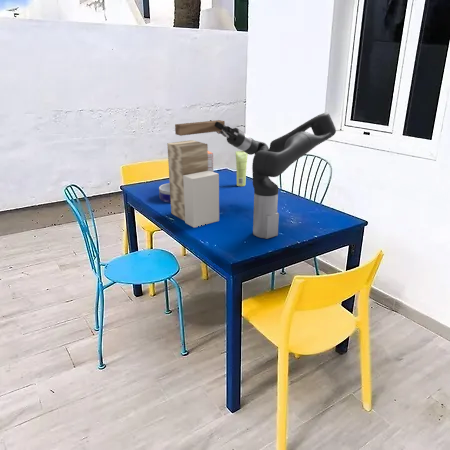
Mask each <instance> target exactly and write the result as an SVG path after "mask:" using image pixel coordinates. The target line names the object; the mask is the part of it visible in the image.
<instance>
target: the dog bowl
mask: <svg viewBox="0 0 450 450" xmlns="http://www.w3.org/2000/svg"><path fill="white" fill-rule="evenodd" d="M158 195H159V200H160V201H161V202H165V203H171V198H170V182H168V183H164V184H161V185H159V187H158Z"/></svg>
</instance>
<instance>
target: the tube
mask: <svg viewBox="0 0 450 450" xmlns="http://www.w3.org/2000/svg"><path fill="white" fill-rule="evenodd" d="M248 156H249V154H247V153H245V152H244V151H242V150H235V162H236V165H235V166H236V169H235V170H236V186H238V187H245V186H246V183H247V182H246V181H247V180H246V179H247V162H248Z"/></svg>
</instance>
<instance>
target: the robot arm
mask: <svg viewBox="0 0 450 450" xmlns="http://www.w3.org/2000/svg"><path fill="white" fill-rule="evenodd" d="M209 121H213V119H212V120H209ZM215 127H217V128H218V129H220V130H221V131H217V132H216V133H217V134H218V135H219V134H220V135H222V136H223V137H224V138H226V142H227V143H228V144H230V145H231V146H233V147H235V148H236V149H238V150H239V151H244V152H245V153H247V154H248V156H249V155H250V156H253V155H254V156H253V158H252V165H251V166H252V167H251V169H252V172H251V173H252V187H253V195H254V196H253V217H252V218H253V221H252V225H253V226H252V235H253V236H256V237H257V238H261V239H267V240H268V239H270V238H274V237H278V235H279V223H280V222H279V221H280V219H279V218H280V213H279V212H278V205H279V203H278V201H279V186H278V184H276V183H275V182H274V181H272V179H271V178H276V177H280V175H282V174H283V173H284V172H285V171H286V170H287V169H288V168H289V167H290V166H292V164H294V163H295V162H297V160H299V159H300V158H302V157H303V156H305V155H306V154H308V153H309V152H311V150H313V149H314V148H316V147H317V146H318V145H320V144H322V143H324V142H326V141H327V140H329V139H331V138H332V137H333V136H335V134H336V132H337V129H336V126H335V124H334V122H333V119H332V117H331V115H330V113H328V112H324V113H323V112H322V113H319V114H318V115H316V116H314V117H312V118H310V119H309V120H307V121H305V122H304V123H302V124H300V125H299V126H297V127H296V128H293V129H292V130H291V131H289V132H288V133H286V134H283V135H282V136H279V137H278V138H275V139H273V140H271V142H270V144H269V146H268V144H267V143H266V142H264V141H263V142H262V141H259V140H256V139H254V138H252V137H251V136H249V135H248V134H247V133H245V132H244V131H242V130H240V129H239V128H238V127H233V128H232V127H230V126H229V125H226V124H225V125H222V124H221V123H219V122H217V121H216V123H215ZM310 128H311V130H312V133H310V132H307V130H308V129H310Z"/></svg>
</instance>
